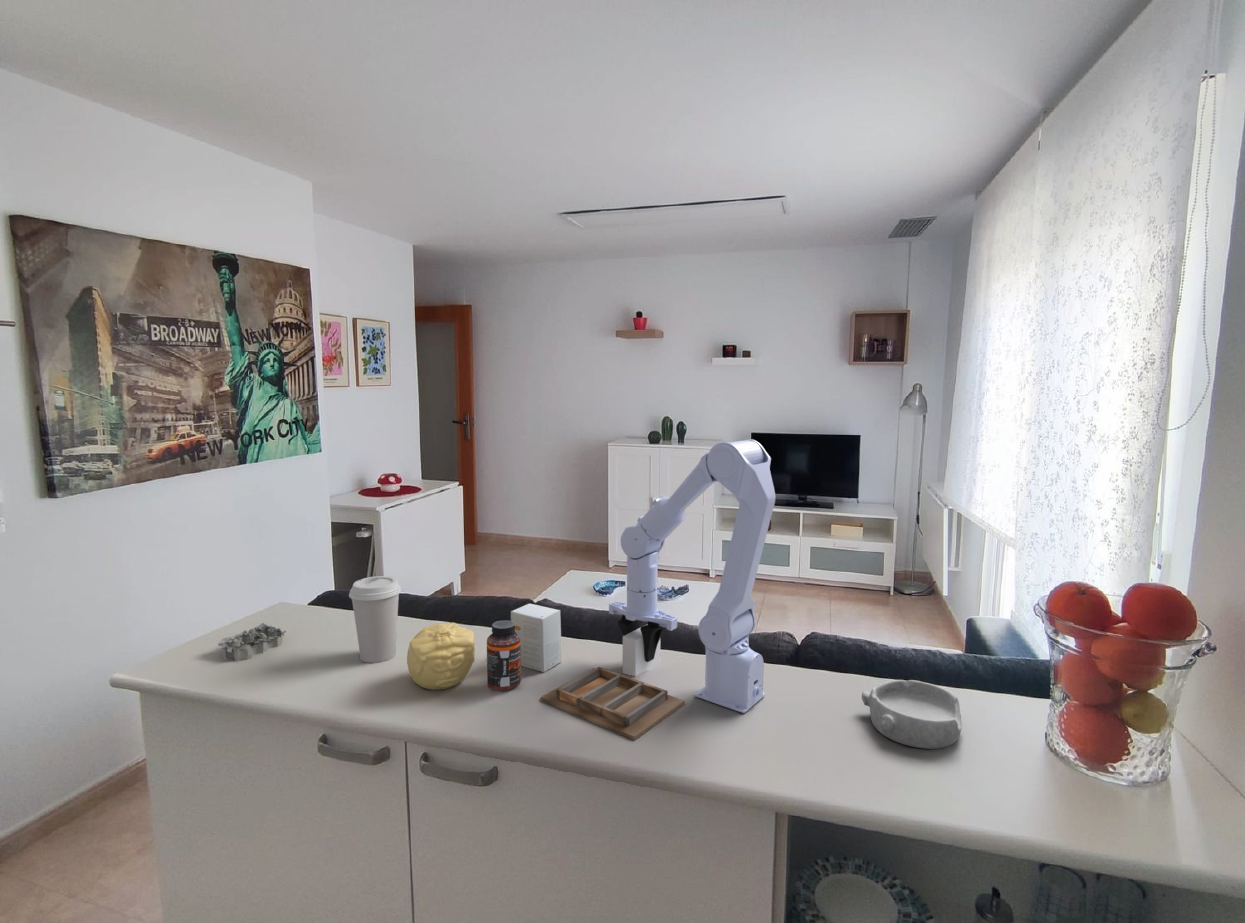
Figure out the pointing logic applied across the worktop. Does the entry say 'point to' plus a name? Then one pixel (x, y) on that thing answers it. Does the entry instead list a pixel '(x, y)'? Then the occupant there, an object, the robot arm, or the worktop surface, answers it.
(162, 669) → the worktop surface
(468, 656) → the sculpture
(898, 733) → the dish
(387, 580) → the coffee cup
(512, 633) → the supplement bottle
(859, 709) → the worktop surface
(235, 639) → the egg carton
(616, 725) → the slot rack
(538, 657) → the small box
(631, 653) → the blanking panel
